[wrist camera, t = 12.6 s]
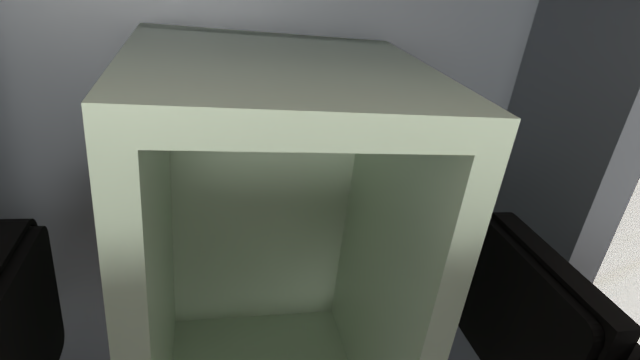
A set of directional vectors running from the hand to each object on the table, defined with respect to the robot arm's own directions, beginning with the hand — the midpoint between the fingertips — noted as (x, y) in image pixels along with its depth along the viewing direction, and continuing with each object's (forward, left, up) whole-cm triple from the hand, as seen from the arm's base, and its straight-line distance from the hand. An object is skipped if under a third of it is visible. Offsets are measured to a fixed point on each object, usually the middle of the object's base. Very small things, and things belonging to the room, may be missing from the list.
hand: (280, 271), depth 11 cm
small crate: (0, 0, -4) cm, 4 cm away
